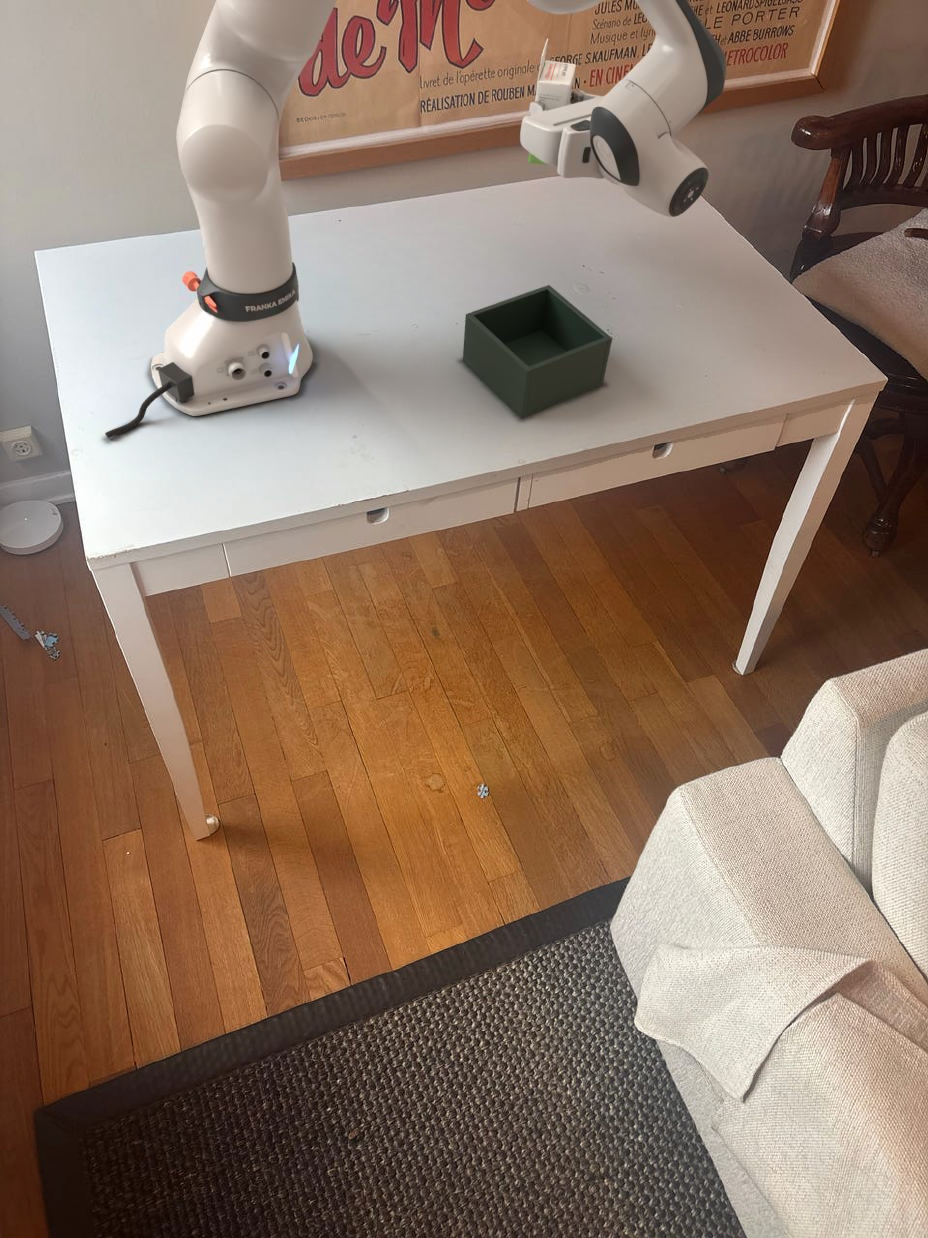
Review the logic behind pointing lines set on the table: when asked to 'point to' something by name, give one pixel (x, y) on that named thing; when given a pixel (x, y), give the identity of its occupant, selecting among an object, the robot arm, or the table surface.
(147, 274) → the table surface
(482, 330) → the open storage bin
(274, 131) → the robot arm
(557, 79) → the ink box
